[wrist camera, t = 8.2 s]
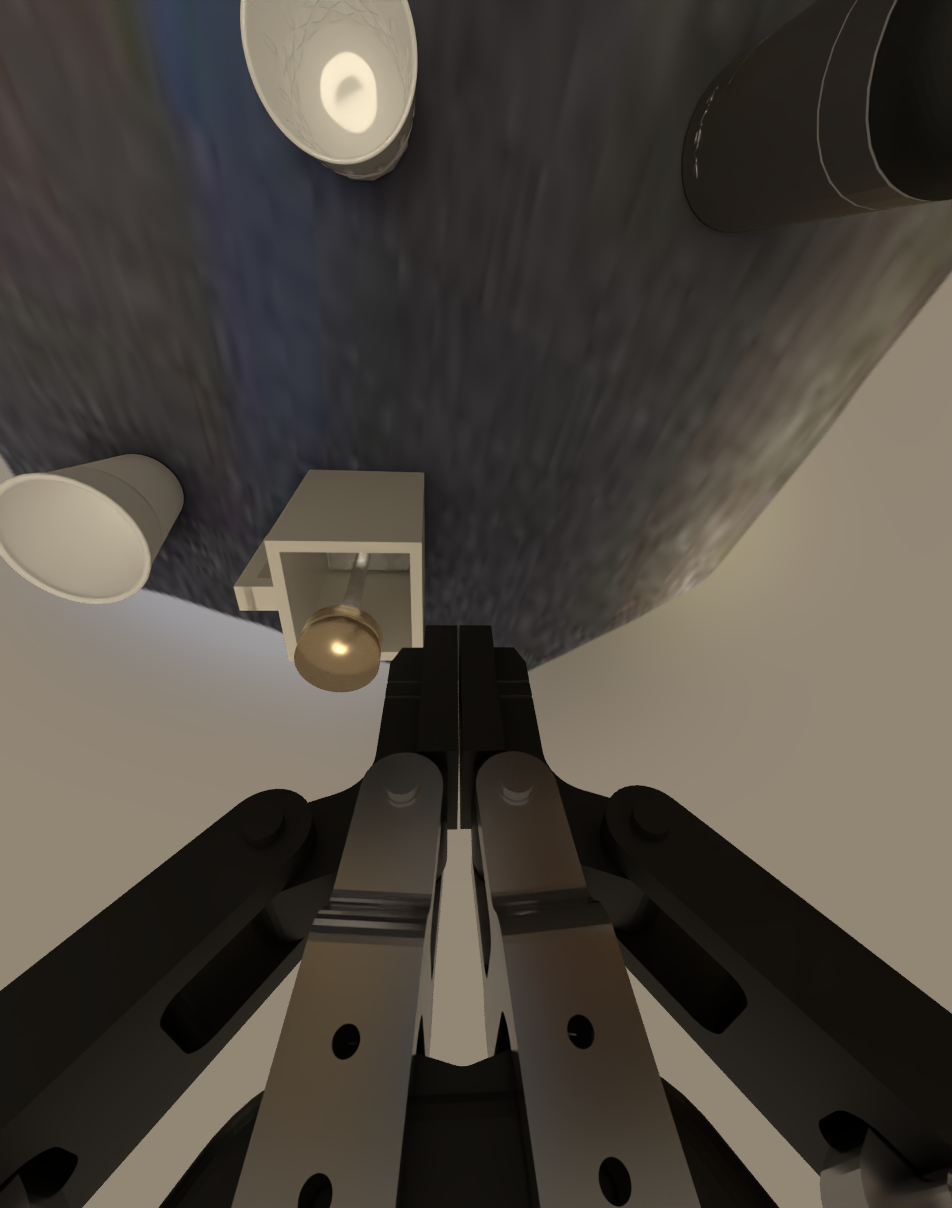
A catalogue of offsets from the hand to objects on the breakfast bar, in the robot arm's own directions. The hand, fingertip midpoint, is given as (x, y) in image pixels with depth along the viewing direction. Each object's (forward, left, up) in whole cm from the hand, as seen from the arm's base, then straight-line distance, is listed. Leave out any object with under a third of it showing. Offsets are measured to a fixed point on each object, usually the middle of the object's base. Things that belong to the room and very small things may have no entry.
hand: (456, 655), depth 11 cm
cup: (+25, +9, -35) cm, 44 cm away
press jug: (+8, +12, -34) cm, 37 cm away
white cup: (+5, -16, -35) cm, 38 cm away
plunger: (+6, +12, -33) cm, 36 cm away
